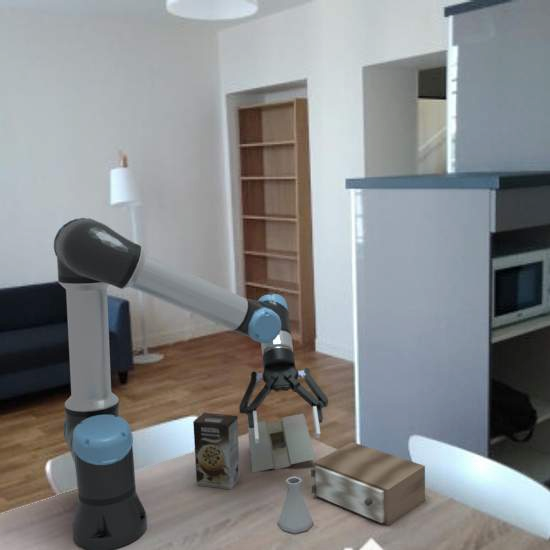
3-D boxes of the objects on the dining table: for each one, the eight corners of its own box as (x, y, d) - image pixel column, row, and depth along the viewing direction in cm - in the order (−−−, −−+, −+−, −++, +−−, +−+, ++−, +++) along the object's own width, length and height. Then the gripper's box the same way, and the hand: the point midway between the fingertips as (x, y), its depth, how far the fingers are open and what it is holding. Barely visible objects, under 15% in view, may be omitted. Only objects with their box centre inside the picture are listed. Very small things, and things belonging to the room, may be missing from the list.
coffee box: (195, 485, 155) (191, 421, 152) (206, 473, 161) (203, 411, 158) (231, 490, 152) (227, 424, 149) (241, 477, 158) (237, 414, 156)
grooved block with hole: (319, 472, 168) (307, 420, 177) (317, 459, 161) (305, 405, 171) (256, 485, 168) (248, 432, 177) (252, 472, 161) (243, 418, 170)
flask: (296, 512, 141) (295, 468, 140) (320, 524, 136) (318, 480, 134) (271, 524, 137) (269, 480, 135) (294, 538, 131) (292, 492, 130)
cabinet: (309, 498, 147) (308, 464, 146) (353, 473, 158) (352, 442, 157) (383, 529, 133) (382, 493, 132) (425, 499, 144) (424, 465, 143)
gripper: (327, 357, 160) (341, 440, 148) (226, 365, 158) (231, 449, 145) (330, 342, 154) (345, 427, 142) (225, 349, 152) (230, 436, 139)
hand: (287, 438), depth 143 cm, fingers open, 13 cm apart
